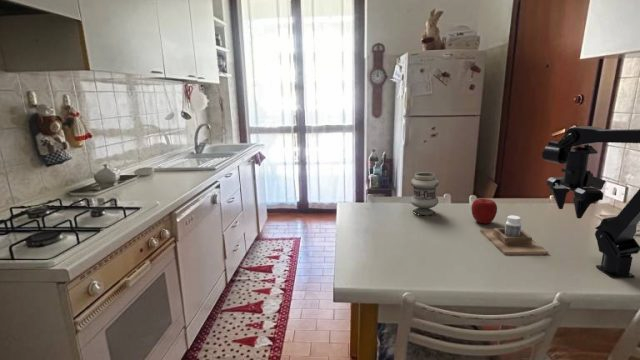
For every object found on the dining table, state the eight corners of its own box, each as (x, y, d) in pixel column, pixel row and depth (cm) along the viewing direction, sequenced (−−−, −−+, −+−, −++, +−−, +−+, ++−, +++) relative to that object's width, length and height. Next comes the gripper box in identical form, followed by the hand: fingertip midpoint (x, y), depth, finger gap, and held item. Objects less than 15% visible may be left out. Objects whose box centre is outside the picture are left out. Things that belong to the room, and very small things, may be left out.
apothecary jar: (404, 210, 162) (405, 172, 157) (427, 207, 165) (429, 169, 161) (419, 218, 150) (421, 177, 146) (443, 215, 154) (445, 175, 150)
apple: (501, 224, 141) (503, 200, 139) (483, 228, 138) (485, 203, 136) (482, 217, 150) (484, 194, 147) (465, 220, 146) (466, 197, 144)
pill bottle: (521, 242, 121) (524, 219, 119) (506, 241, 122) (508, 219, 120) (516, 237, 126) (519, 215, 124) (502, 236, 127) (504, 214, 125)
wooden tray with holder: (547, 254, 114) (549, 244, 113) (503, 254, 115) (505, 244, 114) (517, 231, 134) (518, 222, 133) (480, 231, 134) (480, 223, 134)
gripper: (626, 172, 101) (617, 223, 104) (582, 160, 119) (576, 204, 122) (586, 172, 101) (578, 223, 105) (548, 161, 119) (543, 204, 123)
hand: (569, 213), depth 114 cm, fingers open, 9 cm apart
